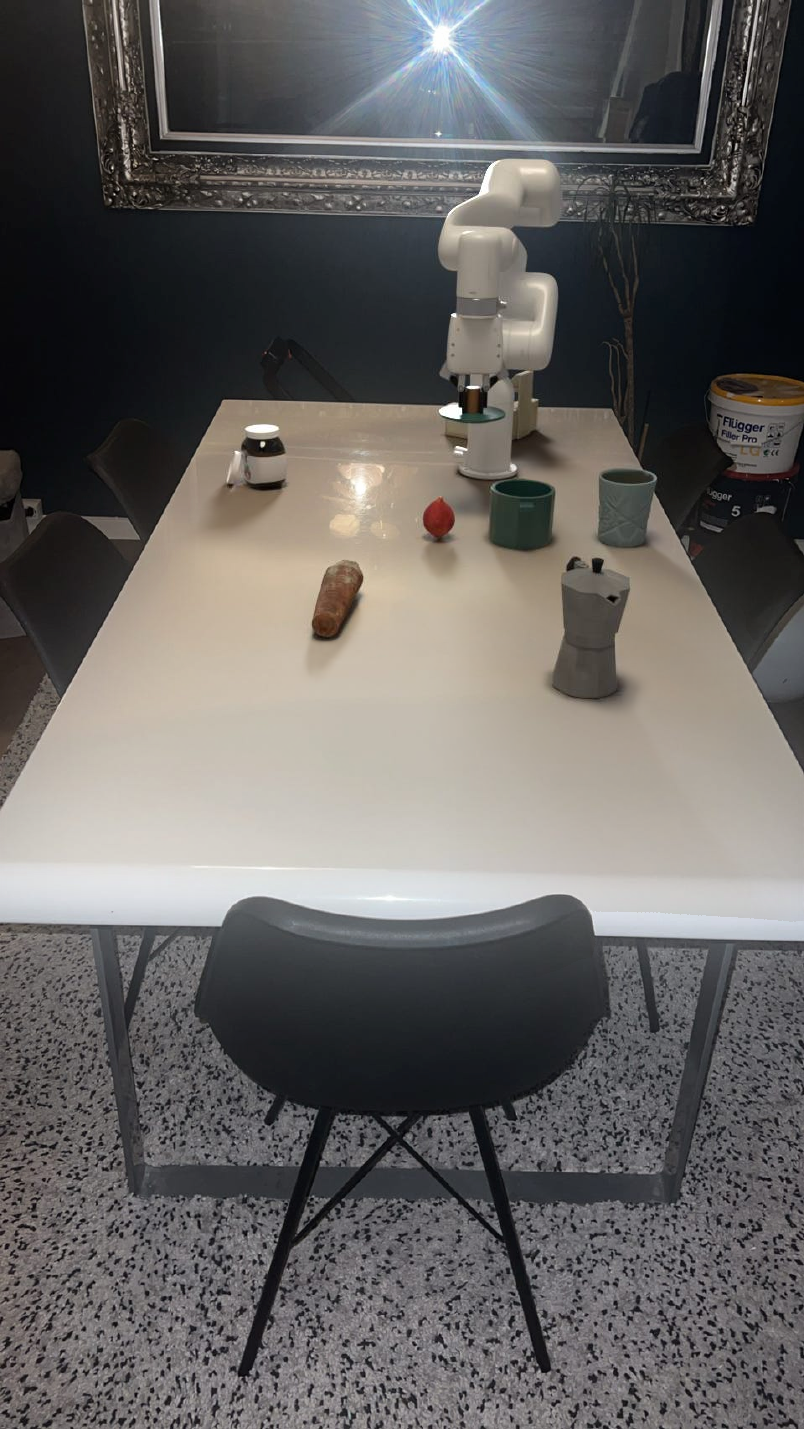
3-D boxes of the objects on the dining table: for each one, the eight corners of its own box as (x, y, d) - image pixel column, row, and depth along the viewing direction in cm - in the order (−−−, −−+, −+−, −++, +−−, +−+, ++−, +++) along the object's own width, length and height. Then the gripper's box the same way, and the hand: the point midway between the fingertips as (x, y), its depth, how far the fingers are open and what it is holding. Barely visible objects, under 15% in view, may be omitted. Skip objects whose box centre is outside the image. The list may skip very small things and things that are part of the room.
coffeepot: (636, 702, 136) (654, 574, 127) (569, 710, 134) (582, 580, 125) (591, 652, 149) (605, 533, 140) (529, 658, 147) (539, 537, 138)
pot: (491, 554, 183) (494, 502, 179) (485, 523, 198) (488, 474, 193) (556, 555, 183) (560, 503, 179) (545, 524, 198) (549, 475, 193)
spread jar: (292, 487, 216) (290, 431, 210) (243, 496, 211) (240, 439, 205) (265, 473, 225) (262, 419, 219) (218, 481, 219) (213, 426, 213)
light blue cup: (658, 539, 191) (667, 475, 185) (629, 553, 185) (637, 487, 179) (611, 526, 197) (619, 464, 191) (581, 539, 191) (588, 475, 185)
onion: (417, 541, 189) (418, 498, 185) (429, 531, 193) (430, 489, 190) (447, 545, 187) (449, 502, 183) (458, 535, 192) (460, 493, 188)
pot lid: (439, 425, 189) (440, 394, 186) (438, 409, 200) (439, 379, 197) (507, 426, 189) (509, 395, 186) (502, 410, 200) (504, 380, 197)
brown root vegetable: (364, 592, 168) (364, 559, 165) (340, 642, 151) (340, 607, 148) (326, 589, 168) (325, 557, 166) (298, 639, 152) (297, 604, 149)
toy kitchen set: (481, 420, 268) (484, 359, 261) (539, 429, 260) (544, 367, 253) (444, 435, 255) (446, 372, 247) (504, 446, 247) (508, 380, 239)
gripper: (520, 305, 188) (513, 408, 197) (431, 303, 188) (428, 406, 197) (524, 311, 181) (517, 417, 190) (432, 310, 181) (429, 416, 190)
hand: (472, 411), depth 194 cm, fingers closed on pot lid, 2 cm apart
